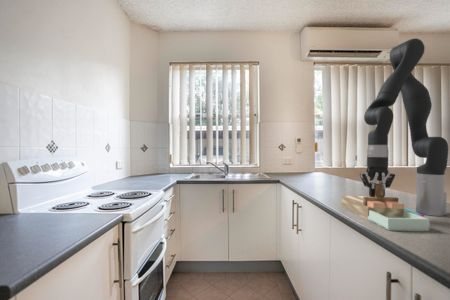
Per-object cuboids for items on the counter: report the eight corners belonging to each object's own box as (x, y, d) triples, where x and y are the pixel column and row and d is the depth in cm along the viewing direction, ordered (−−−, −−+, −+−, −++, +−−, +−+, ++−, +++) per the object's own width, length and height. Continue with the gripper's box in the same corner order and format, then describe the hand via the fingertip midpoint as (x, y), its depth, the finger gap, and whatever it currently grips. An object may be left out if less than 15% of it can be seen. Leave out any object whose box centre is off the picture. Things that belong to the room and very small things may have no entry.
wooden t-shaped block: (387, 201, 104) (388, 183, 104) (398, 205, 98) (398, 185, 97) (356, 201, 104) (357, 182, 104) (365, 205, 98) (365, 185, 98)
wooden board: (370, 206, 117) (370, 196, 117) (403, 220, 95) (404, 207, 95) (341, 206, 117) (341, 195, 117) (367, 219, 95) (368, 207, 95)
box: (403, 220, 95) (404, 210, 95) (429, 230, 83) (429, 219, 83) (367, 219, 95) (367, 209, 95) (388, 230, 83) (388, 218, 83)
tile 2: (396, 206, 98) (396, 201, 98) (403, 208, 93) (404, 203, 93) (384, 205, 98) (384, 200, 98) (391, 208, 93) (392, 203, 93)
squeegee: (364, 198, 131) (383, 198, 130) (364, 201, 131) (383, 202, 130) (399, 214, 102) (424, 214, 101) (399, 218, 102) (424, 218, 101)
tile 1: (378, 205, 98) (378, 200, 98) (385, 208, 93) (385, 203, 93) (366, 205, 98) (367, 200, 98) (373, 208, 93) (373, 203, 93)
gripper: (388, 155, 104) (388, 196, 105) (355, 155, 105) (355, 195, 105) (401, 156, 97) (400, 199, 97) (365, 156, 97) (364, 199, 97)
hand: (376, 197), depth 101 cm, fingers closed on wooden t-shaped block, 3 cm apart
